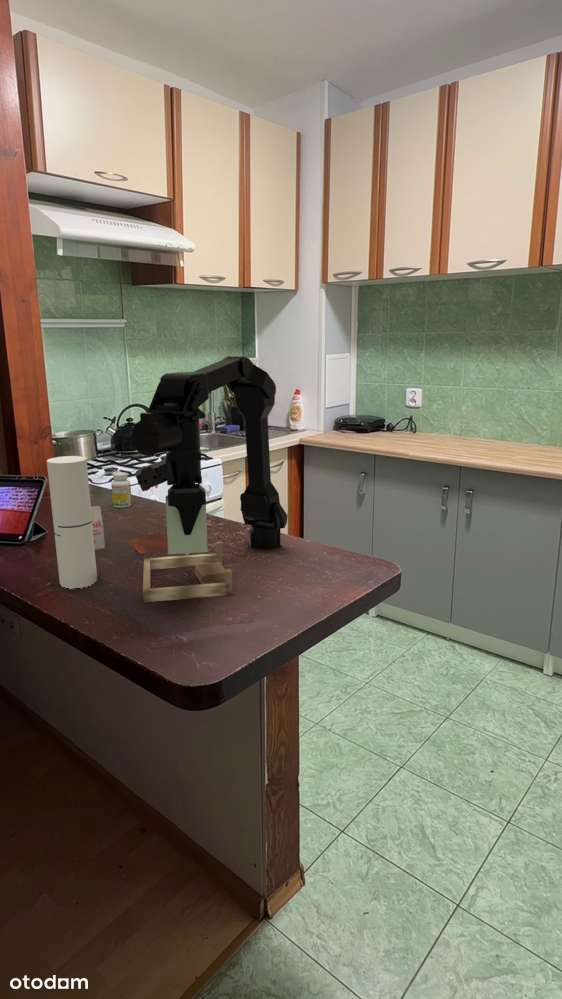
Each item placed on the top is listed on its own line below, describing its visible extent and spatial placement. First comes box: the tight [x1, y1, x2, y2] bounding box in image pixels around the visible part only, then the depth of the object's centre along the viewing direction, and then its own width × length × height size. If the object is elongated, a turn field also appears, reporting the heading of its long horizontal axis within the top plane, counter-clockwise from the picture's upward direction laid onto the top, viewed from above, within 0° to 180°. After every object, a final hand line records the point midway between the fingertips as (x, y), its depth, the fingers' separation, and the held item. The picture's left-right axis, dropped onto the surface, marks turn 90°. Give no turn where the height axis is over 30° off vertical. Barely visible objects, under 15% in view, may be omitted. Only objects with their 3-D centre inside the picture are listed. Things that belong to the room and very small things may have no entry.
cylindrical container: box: [46, 455, 98, 590], centre depth 118 cm, size 7×7×25 cm
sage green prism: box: [165, 495, 208, 555], centre depth 109 cm, size 7×4×10 cm, turn 100°
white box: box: [91, 505, 106, 551], centre depth 139 cm, size 4×7×10 cm, turn 118°
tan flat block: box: [194, 562, 226, 584], centre depth 119 cm, size 5×6×2 cm
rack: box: [142, 541, 233, 603], centre depth 117 cm, size 16×17×6 cm
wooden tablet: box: [129, 532, 168, 554], centre depth 138 cm, size 27×10×2 cm, turn 27°
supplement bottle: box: [111, 471, 132, 509], centre depth 175 cm, size 5×5×10 cm
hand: (187, 531), depth 110 cm, fingers closed on sage green prism, 3 cm apart
